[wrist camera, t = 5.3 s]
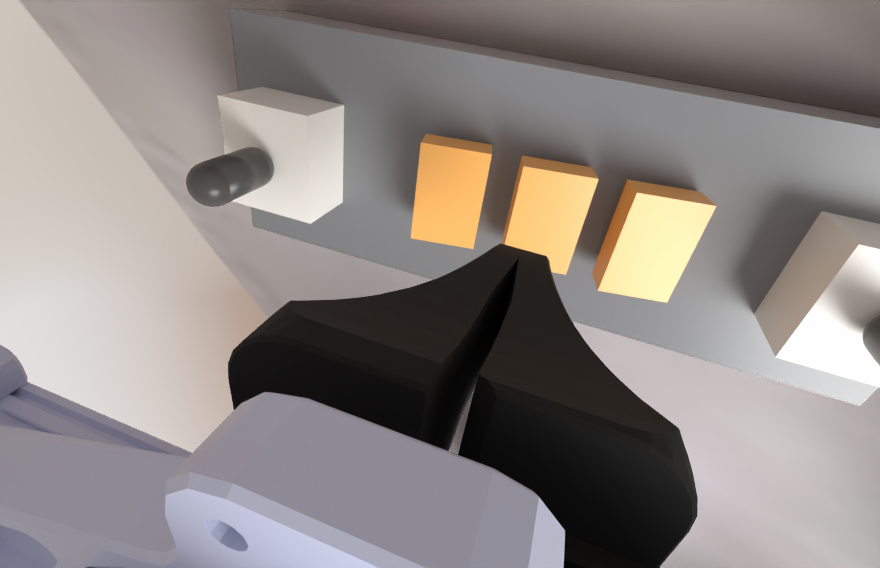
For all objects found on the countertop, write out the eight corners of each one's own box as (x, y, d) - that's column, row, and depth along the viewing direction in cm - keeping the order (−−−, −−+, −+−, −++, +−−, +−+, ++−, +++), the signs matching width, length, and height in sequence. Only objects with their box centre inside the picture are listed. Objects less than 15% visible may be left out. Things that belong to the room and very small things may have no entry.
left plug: (342, 202, 19) (251, 263, 14) (270, 182, 20) (160, 234, 15) (344, 104, 17) (237, 137, 12) (263, 86, 18) (130, 110, 13)
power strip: (822, 348, 19) (860, 406, 16) (295, 202, 24) (253, 226, 21) (992, 138, 14) (1090, 167, 11) (286, 10, 19) (229, 8, 16)
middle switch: (561, 258, 17) (565, 274, 16) (500, 248, 17) (500, 263, 16) (592, 167, 15) (598, 178, 14) (522, 155, 15) (523, 166, 14)
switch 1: (474, 235, 18) (473, 248, 17) (415, 225, 18) (410, 238, 17) (492, 144, 16) (492, 154, 15) (425, 133, 16) (420, 142, 15)
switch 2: (656, 284, 16) (667, 302, 15) (591, 273, 16) (598, 290, 15) (701, 191, 14) (716, 205, 13) (627, 179, 14) (637, 192, 13)
